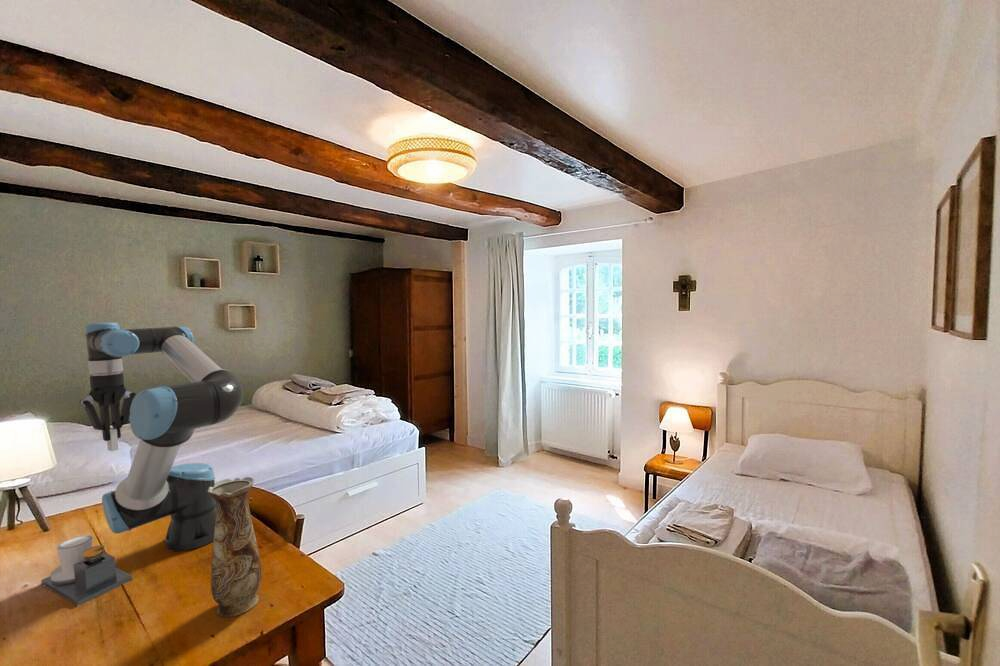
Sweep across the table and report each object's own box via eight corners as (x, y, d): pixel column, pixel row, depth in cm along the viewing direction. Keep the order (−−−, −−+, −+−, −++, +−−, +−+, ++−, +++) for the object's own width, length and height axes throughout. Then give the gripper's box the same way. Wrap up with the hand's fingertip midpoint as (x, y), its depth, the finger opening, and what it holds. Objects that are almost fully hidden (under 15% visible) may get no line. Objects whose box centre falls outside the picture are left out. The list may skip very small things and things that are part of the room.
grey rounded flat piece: (110, 566, 118) (109, 560, 118) (61, 589, 109) (60, 582, 109) (92, 558, 122) (91, 552, 122) (43, 578, 113) (43, 572, 113)
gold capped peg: (109, 577, 112) (106, 547, 112) (89, 586, 109) (87, 555, 108) (101, 573, 114) (99, 544, 113) (82, 582, 110) (79, 552, 110)
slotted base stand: (132, 579, 114) (130, 553, 114) (78, 606, 104) (75, 578, 104) (94, 561, 123) (92, 537, 122) (41, 584, 113) (39, 558, 112)
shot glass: (54, 577, 111) (51, 551, 110) (65, 563, 117) (63, 538, 116) (89, 569, 114) (86, 544, 113) (98, 556, 120) (96, 532, 120)
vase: (208, 625, 97) (199, 498, 95) (218, 596, 107) (210, 480, 105) (260, 611, 102) (253, 489, 99) (264, 584, 111) (258, 473, 109)
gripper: (126, 369, 136) (132, 441, 138) (72, 376, 124) (79, 455, 126) (139, 370, 133) (144, 444, 135) (84, 377, 121) (91, 458, 123)
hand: (113, 449), depth 130 cm, fingers closed
